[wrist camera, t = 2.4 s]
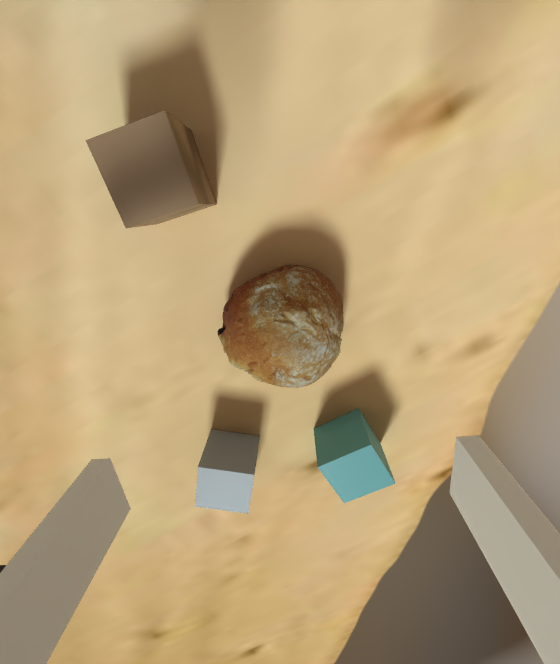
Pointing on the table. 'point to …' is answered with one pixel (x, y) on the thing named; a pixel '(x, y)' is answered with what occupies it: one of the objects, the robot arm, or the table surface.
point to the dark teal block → (351, 456)
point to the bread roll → (284, 326)
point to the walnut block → (152, 170)
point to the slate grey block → (227, 471)
